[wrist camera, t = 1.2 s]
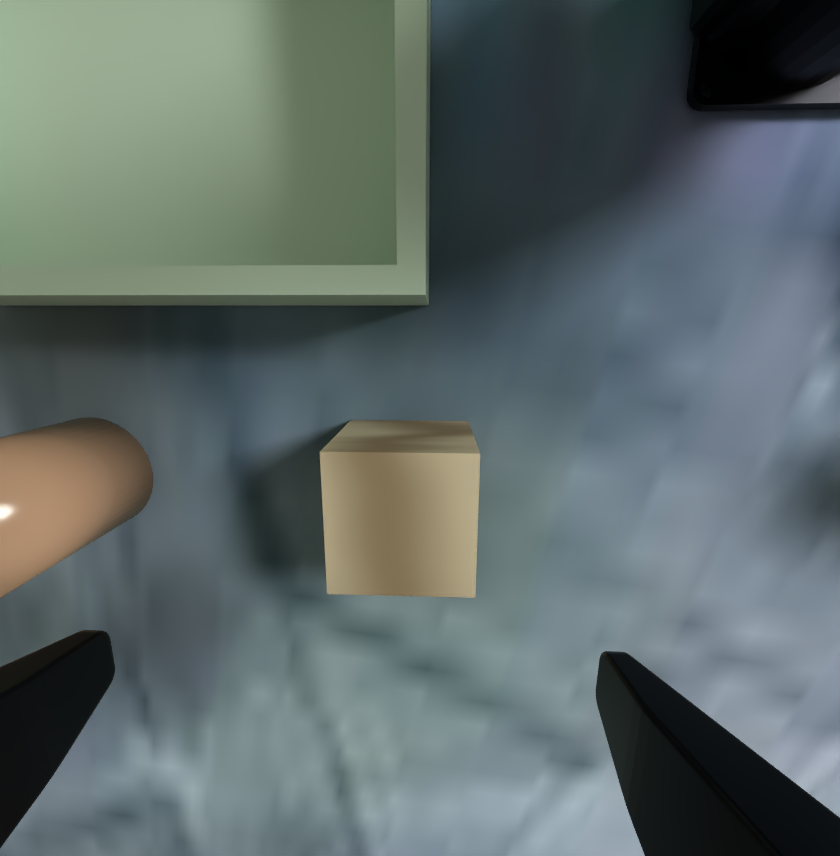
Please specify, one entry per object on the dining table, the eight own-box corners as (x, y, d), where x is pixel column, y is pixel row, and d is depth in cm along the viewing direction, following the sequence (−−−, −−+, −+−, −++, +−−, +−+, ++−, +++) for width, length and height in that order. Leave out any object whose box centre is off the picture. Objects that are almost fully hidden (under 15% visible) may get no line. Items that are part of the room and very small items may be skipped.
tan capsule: (144, 418, 18) (-27, 468, 12) (160, 524, 20) (11, 627, 13) (33, 417, 19) (-199, 466, 12) (54, 522, 20) (-147, 622, 13)
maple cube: (468, 420, 18) (479, 453, 13) (465, 530, 19) (475, 597, 14) (350, 420, 18) (319, 451, 13) (354, 527, 19) (327, 593, 14)
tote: (431, -126, 14) (428, -373, 9) (429, 305, 17) (425, 294, 12) (-82, -106, 15) (-341, -326, 10) (3, 305, 18) (-163, 295, 13)
